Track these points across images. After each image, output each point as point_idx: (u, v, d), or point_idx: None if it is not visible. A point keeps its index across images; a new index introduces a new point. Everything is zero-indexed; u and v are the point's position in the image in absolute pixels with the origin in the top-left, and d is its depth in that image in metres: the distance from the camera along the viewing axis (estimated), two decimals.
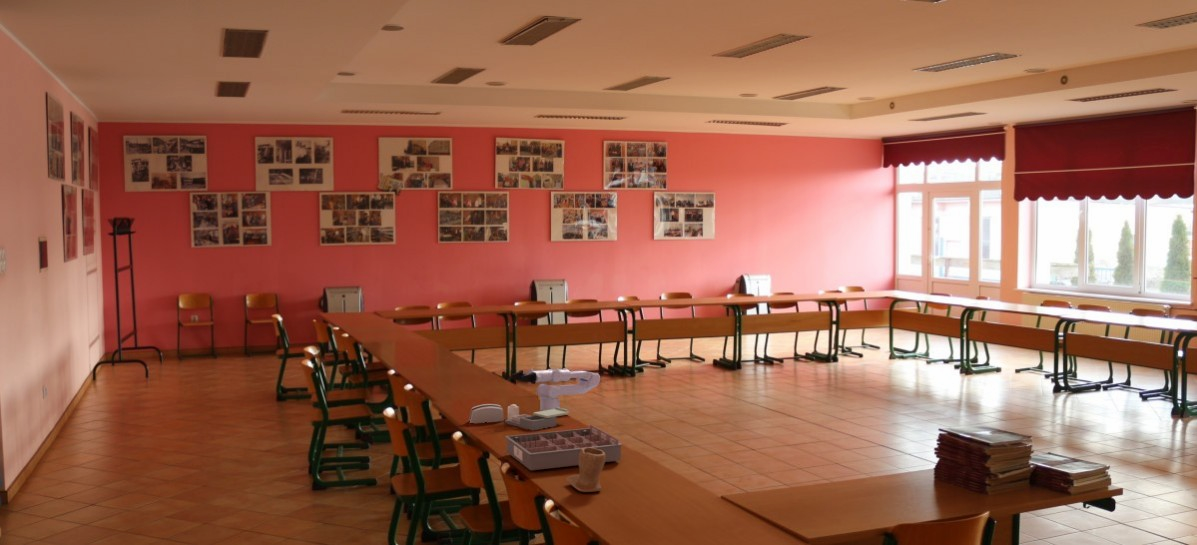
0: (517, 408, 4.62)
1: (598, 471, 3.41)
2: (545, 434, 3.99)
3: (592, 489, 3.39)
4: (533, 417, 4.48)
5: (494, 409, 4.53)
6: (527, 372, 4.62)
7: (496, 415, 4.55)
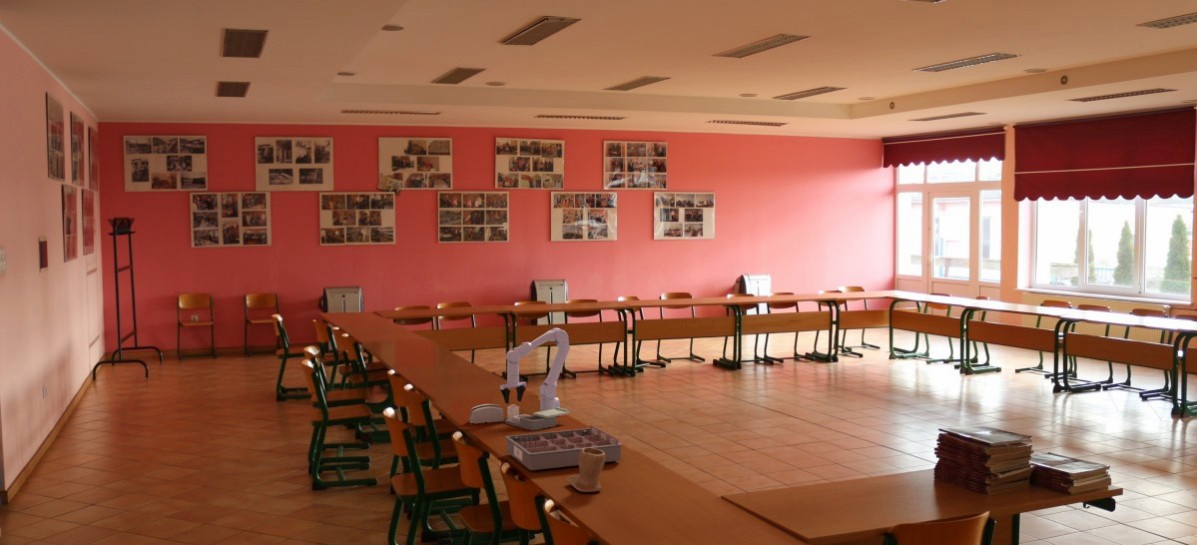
0: (517, 408, 4.62)
1: (598, 471, 3.41)
2: (545, 434, 3.99)
3: (592, 489, 3.39)
4: (533, 417, 4.48)
5: (494, 409, 4.53)
6: None
7: (496, 415, 4.55)
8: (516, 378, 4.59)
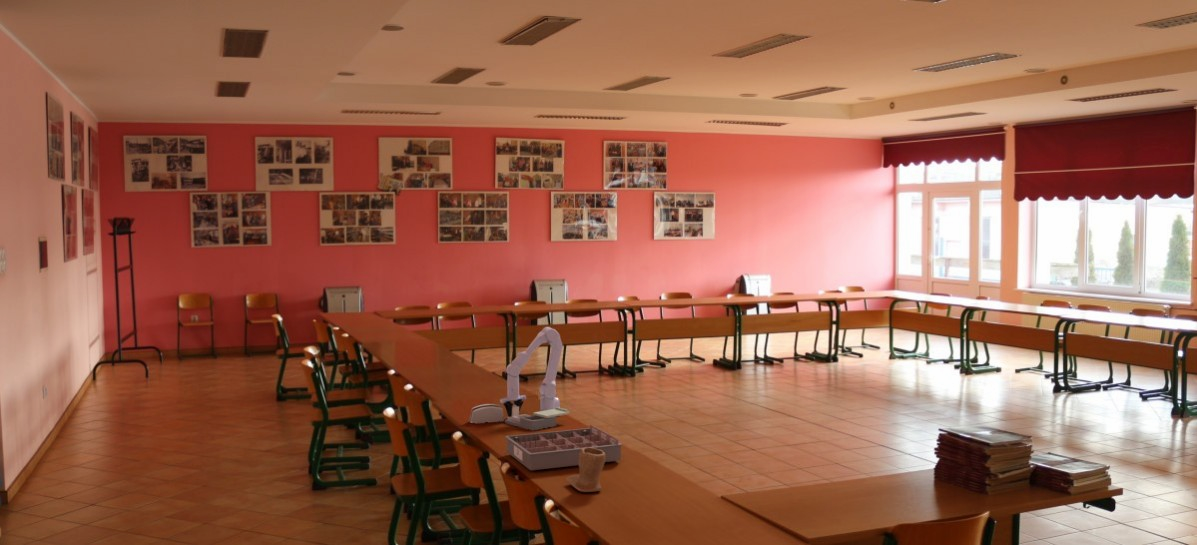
0: (517, 408, 4.62)
1: (598, 471, 3.41)
2: (545, 434, 3.99)
3: (592, 489, 3.39)
4: (533, 417, 4.48)
5: (495, 409, 4.53)
6: None
7: (496, 415, 4.55)
8: (516, 392, 4.60)
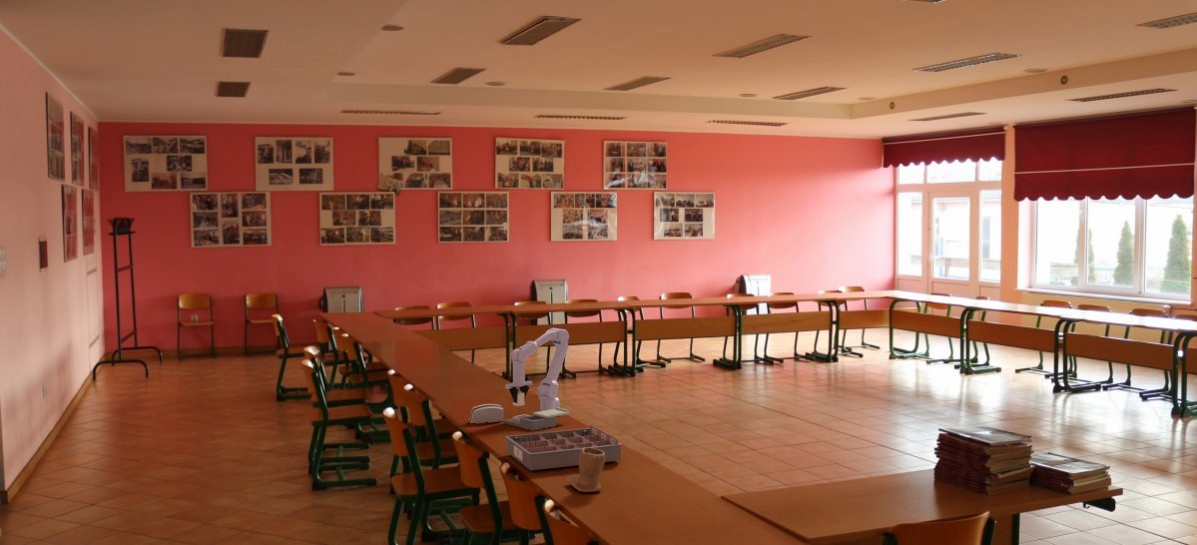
0: (522, 394, 4.56)
1: (598, 471, 3.41)
2: (545, 434, 3.99)
3: (592, 489, 3.39)
4: (533, 417, 4.48)
5: (495, 409, 4.53)
6: None
7: (497, 415, 4.55)
8: (522, 377, 4.54)
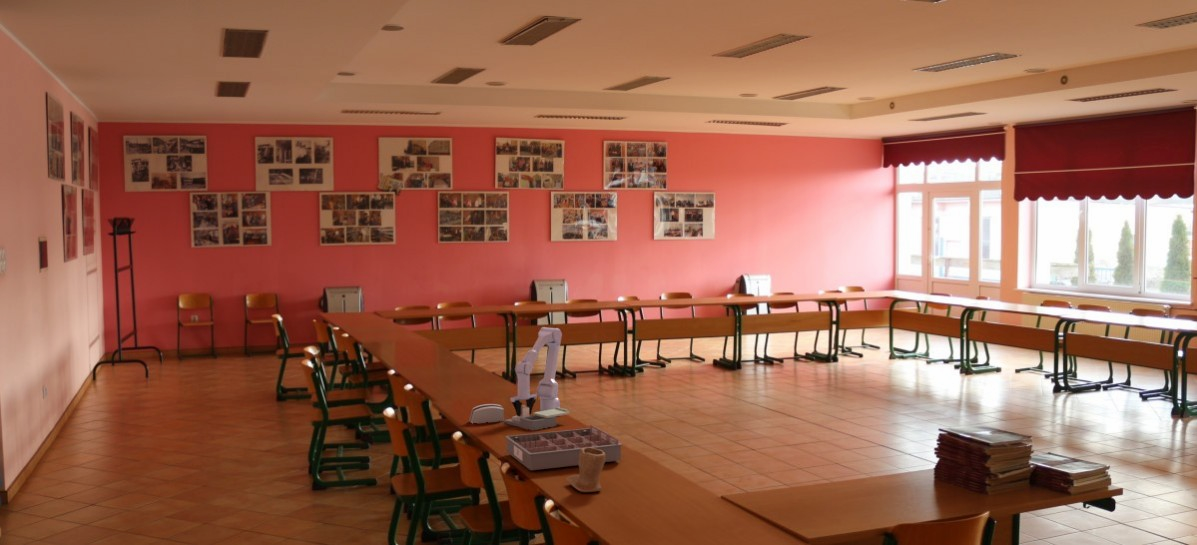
0: (527, 409, 4.52)
1: (598, 471, 3.41)
2: (545, 434, 3.99)
3: (592, 489, 3.39)
4: (533, 417, 4.48)
5: (495, 409, 4.53)
6: None
7: (497, 415, 4.55)
8: (527, 390, 4.50)
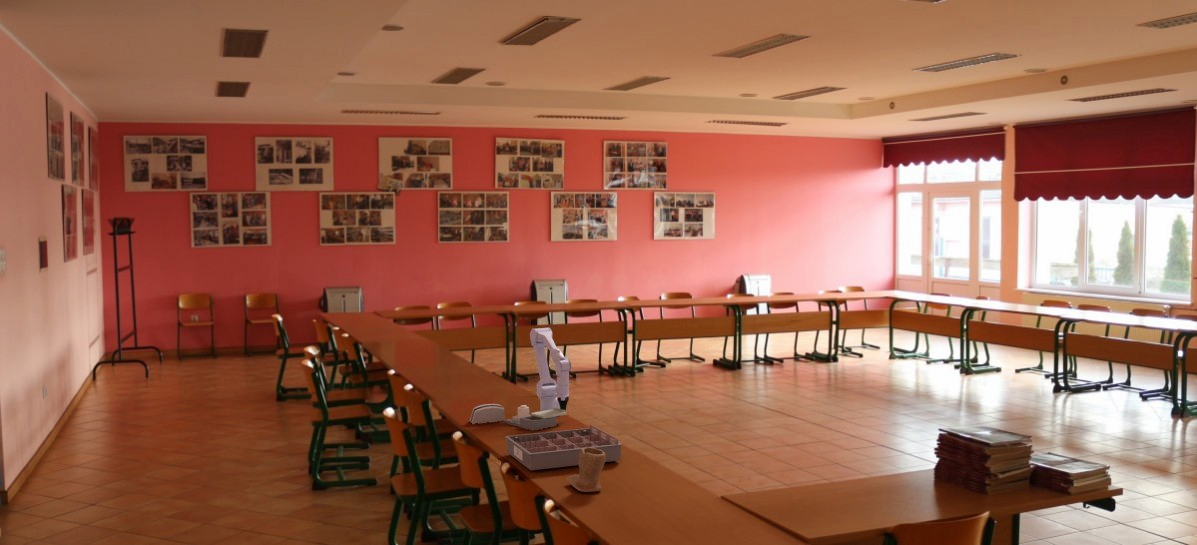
0: (527, 409, 4.52)
1: (598, 471, 3.41)
2: (545, 434, 3.99)
3: (592, 489, 3.39)
4: (533, 417, 4.48)
5: (496, 409, 4.53)
6: None
7: (497, 415, 4.55)
8: (568, 387, 4.54)
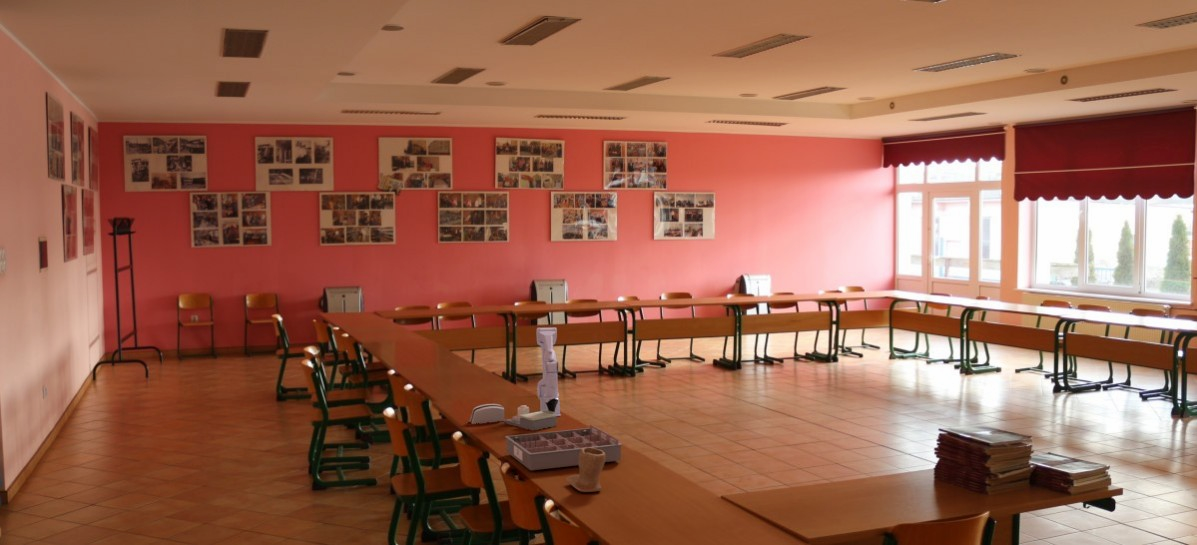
0: (527, 409, 4.52)
1: (598, 471, 3.41)
2: (545, 434, 3.99)
3: (592, 489, 3.39)
4: None
5: (496, 409, 4.53)
6: None
7: (498, 415, 4.55)
8: (556, 389, 4.48)
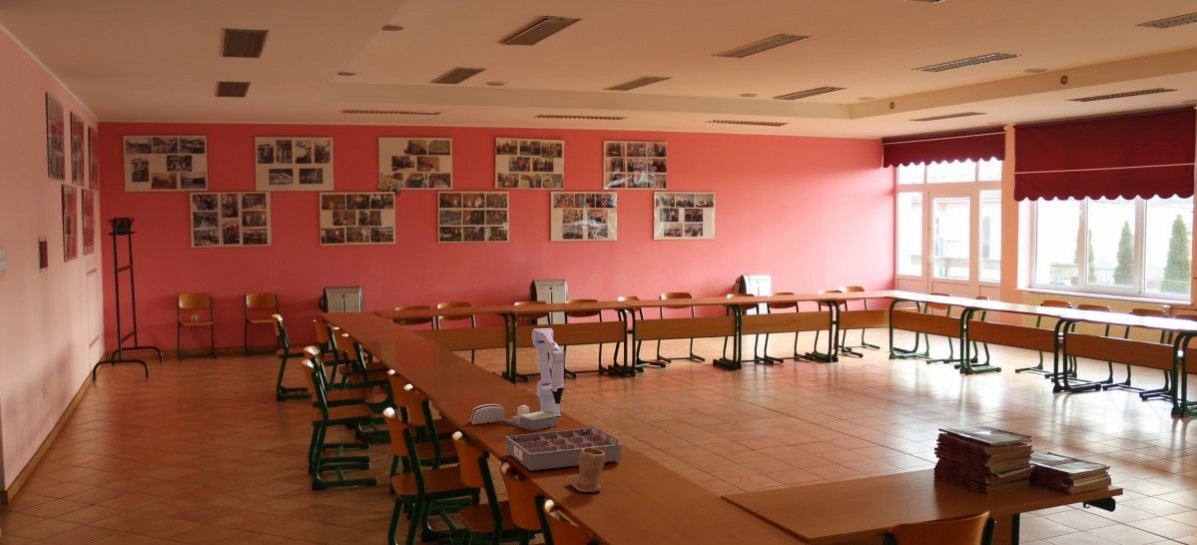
0: (527, 409, 4.52)
1: (598, 471, 3.41)
2: (545, 434, 3.99)
3: (592, 489, 3.39)
4: None
5: (496, 409, 4.53)
6: None
7: (498, 415, 4.55)
8: (563, 378, 4.51)
